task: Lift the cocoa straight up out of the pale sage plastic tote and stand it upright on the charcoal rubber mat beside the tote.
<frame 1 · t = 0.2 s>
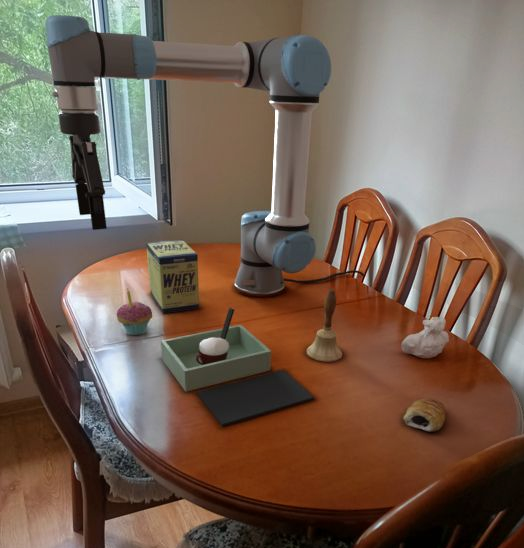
hand: (92, 221, 106), 28 cm above the table, tool pointing down, fingers open, 13 cm apart
mat: (255, 396, 98), on the table
cupcake: (135, 331, 123), on the table
pastry: (424, 421, 93), on the table
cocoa: (215, 364, 109), resting on tote
protein box: (174, 301, 140), on the table
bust: (424, 356, 116), on the table
hand bell: (324, 354, 115), on the table
tote: (215, 364, 109), on the table
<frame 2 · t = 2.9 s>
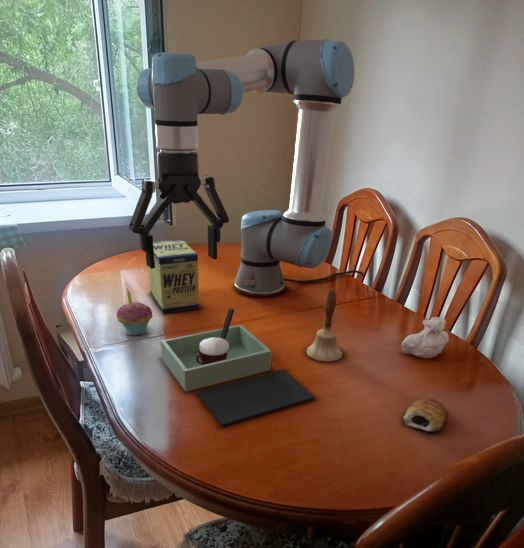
hand: (182, 262, 101), 22 cm above the table, tool pointing down, fingers open, 13 cm apart
nothing on the table moved.
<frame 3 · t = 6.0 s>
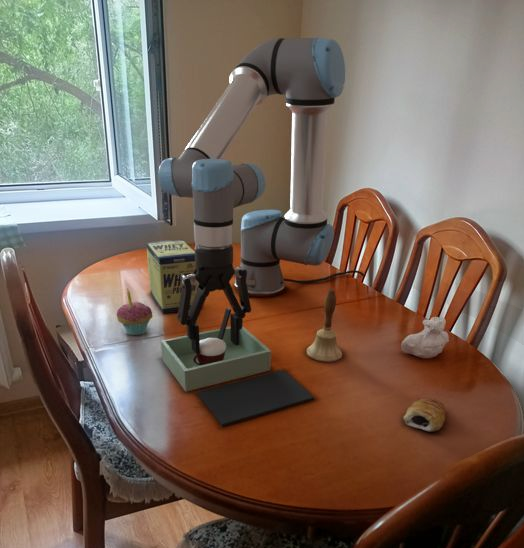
hand: (215, 346, 107), 5 cm above the table, tool pointing down, fingers closed on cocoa, 8 cm apart
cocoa: (213, 364, 109), resting on tote, touching gripper
everything else where it was.
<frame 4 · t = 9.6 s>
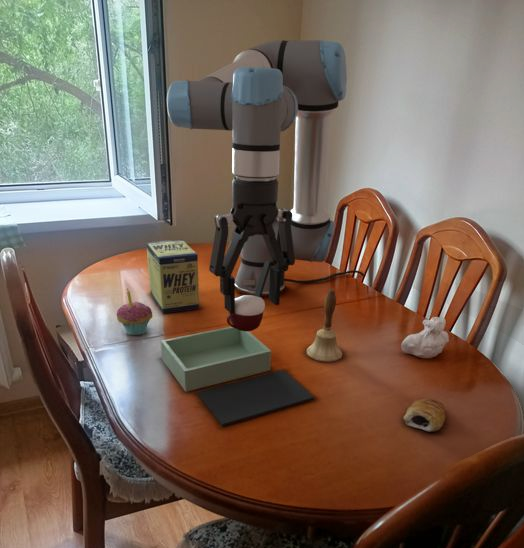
hand: (252, 306, 90), 19 cm above the table, tool pointing down, fingers closed on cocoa, 8 cm apart
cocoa: (248, 328, 92), point 15 cm above the table, touching gripper
everything else where it was.
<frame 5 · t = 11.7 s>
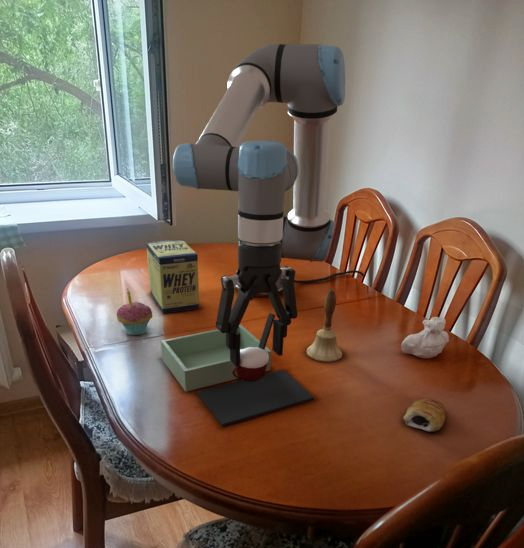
hand: (256, 357, 94), 9 cm above the table, tool pointing down, fingers closed on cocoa, 8 cm apart
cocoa: (252, 377, 96), point 5 cm above the table, touching gripper
everything else where it was.
when the fingers open (5 cm above the table, at t = 13.2 s): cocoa stays where it is, resting on mat.
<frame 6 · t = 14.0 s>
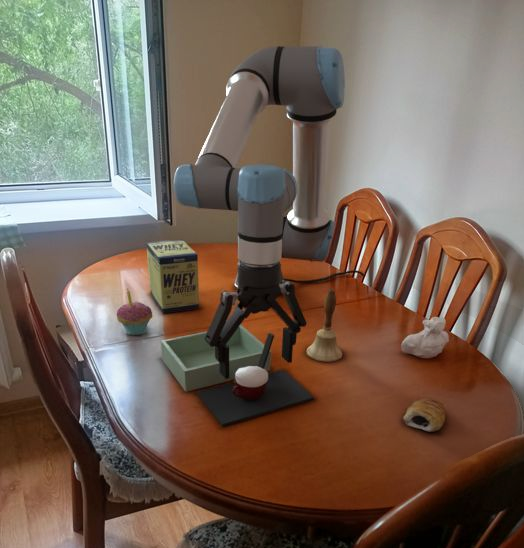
hand: (256, 367, 95), 7 cm above the table, tool pointing down, fingers open, 13 cm apart
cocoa: (252, 395, 98), resting on mat
everything else where it was.
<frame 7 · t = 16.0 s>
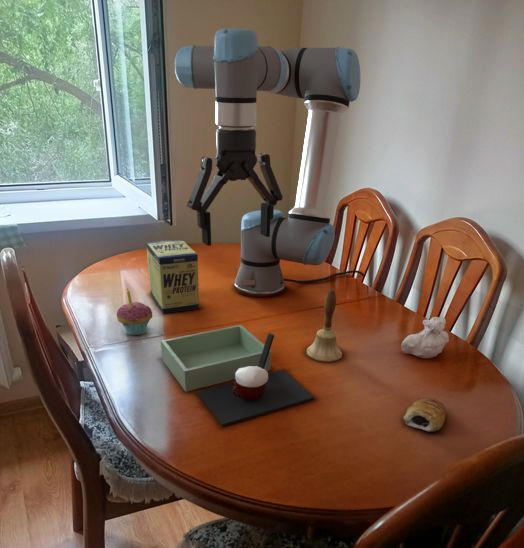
hand: (236, 239, 102), 26 cm above the table, tool pointing down, fingers open, 13 cm apart
nothing on the table moved.
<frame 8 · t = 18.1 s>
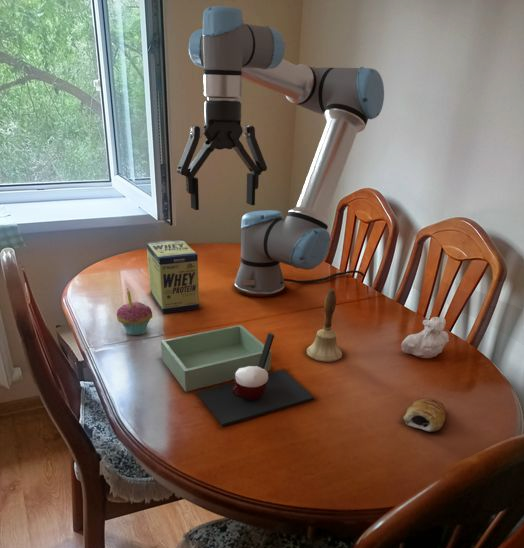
hand: (223, 206, 110), 31 cm above the table, tool pointing down, fingers open, 13 cm apart
nothing on the table moved.
at the end: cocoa inside the target area on the mat (0.7 cm from its centre), point 0.4 cm above the mat's base; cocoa tilted 0°; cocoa touching mat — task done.
